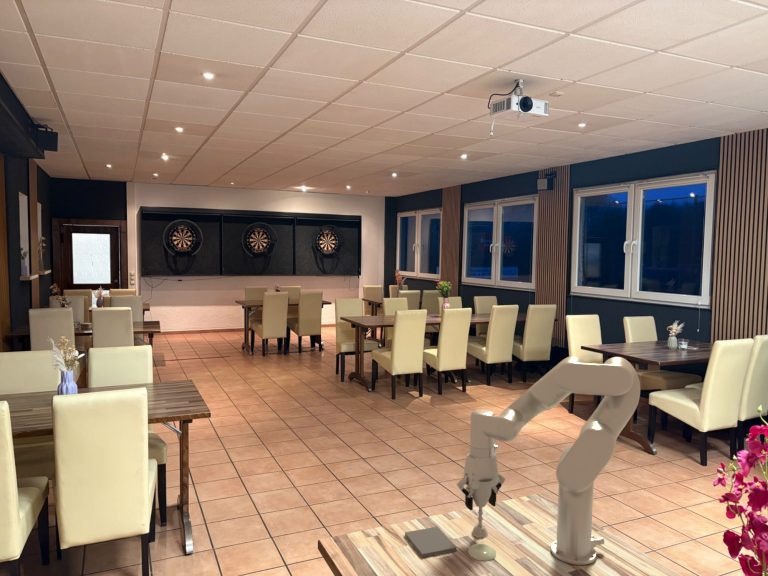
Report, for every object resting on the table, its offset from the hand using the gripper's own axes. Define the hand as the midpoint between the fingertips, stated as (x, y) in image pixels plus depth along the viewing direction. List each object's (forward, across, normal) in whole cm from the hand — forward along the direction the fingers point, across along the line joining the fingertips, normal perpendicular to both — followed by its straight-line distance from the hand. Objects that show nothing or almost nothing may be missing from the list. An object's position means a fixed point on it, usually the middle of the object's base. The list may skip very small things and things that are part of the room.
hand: (480, 506), depth 176 cm
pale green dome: (+9, +5, +10) cm, 14 cm away
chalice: (+9, 0, 0) cm, 9 cm away
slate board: (+9, +17, 0) cm, 19 cm away
